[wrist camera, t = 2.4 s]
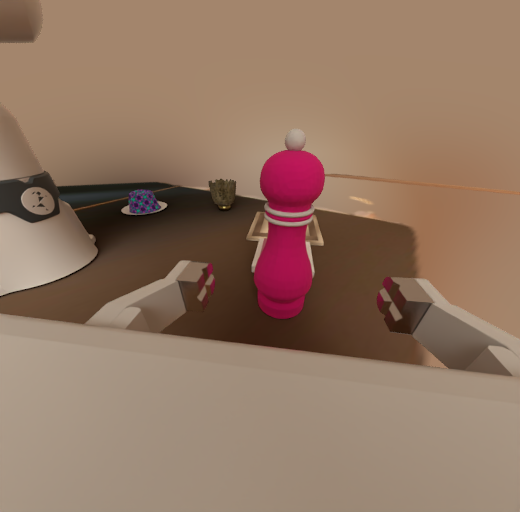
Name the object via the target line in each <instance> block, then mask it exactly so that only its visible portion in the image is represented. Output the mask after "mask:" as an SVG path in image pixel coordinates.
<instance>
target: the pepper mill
mask: <svg viewBox="0 0 520 512" xmlns="http://www.w3.org/2000/svg"><path fill="white" fill-rule="evenodd" d="M305 142H306V137H305V134H304V133H303V132H302V131H301V130H299V129H293V130H291V131H290V132H289V133H288V134H287V136H286V138H285V145H286V147H287V149H288V150H285V151H281V152H278V153H276V154H274V155H273V156H271V157H270V158H269V159H268V160H267V161H266V163H265V164H264V166H263V169H262V172H261V177H260V188H261V191H262V193H263V194H264V196H265V197H266V198H267V200H268V202H267V203H266V204H265V210H266V211H265V214H264V217H265V219H266V220H267V221H268V236H267V241H266V244H265V247H264V249H263V251H262V253H261V255H260V257H259V258H258V261H257V263H256V267H255V271H254V282H255V285H256V287H257V288H258V305H259V307H260V308H261V310H262V311H263V312H264V313H266V314H267V315H269V316H271V317H273V318H278V319H288V318H291V317H294V316H296V315H297V314H299V313H300V311H301V310H302V308H303V305H304V299H305V294H306V293H307V292H308V291H309V289H310V287H311V284H312V267H311V263H310V260H309V257H308V254H307V249H306V242H305V240H306V230H307V225H308V224H309V223H310V222H311V221H312V220H313V216H312V213H313V212H314V206H313V205H312V203H313V202H314V200H316V199H317V198H318V197H319V195H320V194H321V192H322V190H323V186H324V180H325V174H324V168H323V165H322V164H321V162H320V161H319V160H318V159H317V157H316V156H314V155H313V154H311V153H308V152H306V151H301V150H302V148H303V147H304V145H305Z"/></svg>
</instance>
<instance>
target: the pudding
mask: <svg viewBox="0 0 520 512" xmlns="http://www.w3.org/2000/svg"><path fill="white" fill-rule="evenodd" d="M160 206H161V207H160ZM166 207H167V204H166V203H164V202H159V201H157V200H156V198H155V196H154V194H153V193H152V191H150V190H136V191H132V192H131V193H129V205H128V206H126V207H124V208H123V209H122V210H121V211H122V212H123V213H125V214H130V215H142V214H149V212H151V213H154V211H155V212H158V211H160V210H163V209H164V208H166ZM160 208H161V209H160ZM158 209H159V210H158ZM129 210H130V212H133V213H134V214H133V213H130V212H129ZM138 213H141V214H138Z"/></svg>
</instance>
